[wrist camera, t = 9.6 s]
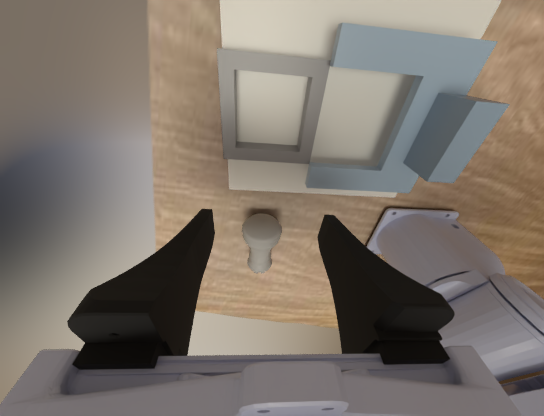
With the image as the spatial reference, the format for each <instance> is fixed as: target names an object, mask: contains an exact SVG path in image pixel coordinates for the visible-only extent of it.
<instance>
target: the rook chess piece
mask: <svg viewBox="0 0 544 416" xmlns="http://www.w3.org/2000/svg"><path fill="white" fill-rule="evenodd" d="M242 232H243V238H244V240H245V242H246V244H248V246H249V247H250V249H251V251H250V253H249V258H248V262H247V263H248V266H249V268H250V269H251V270H252V271H254V273H257V274H258V272H261V274H262V273H265V271H267V270H268V269H269V268H270V267H271V265H272V259H271V252H270V251H271V248H273V247H274V246H275V245H276V244H277V243H278V241H279V239H280V235H281V233H282V228H281V225H280V223H279V222H278V220H277V219H275V218H274V217H273V216H271V215H268V214H260V213H259V214H255V215H252V216H251V217H249V218H248V219H246V221H245V222H244V223H243V225H242Z"/></svg>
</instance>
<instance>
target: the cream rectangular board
mask: <svg viewBox="0 0 544 416" xmlns="http://www.w3.org/2000/svg"><path fill="white" fill-rule="evenodd" d="M500 2H501V0H220V13H221V34H222V49H219V48H217V59H218V75H219V92H220V108H221V124H222V140H223V156H224V159H228V176H229V189H231V190H251V191H271V192H291V193H311V194H331V195H351V196H371V197H391V198H395V196H396V195H397V193H396V192H376V191H357V190H338V189H319V188H307V187H306V184H305V181H306V176H307V172H308V167H309V162H313V163H329V164H345V165H361V166H376V167H377V165H378V163H379V161H380V158H381V156H382V154H383V151H384V149H385V147H386V144H387V142H388V140H389V137H390V135H391V133H392V130H393V128H394V126H395V123H396V121H397V119H398V116H399V114H400V112H401V109H402V107H403V105H404V102H405V100H406V98H407V95H408V93H409V91H410V88H411V86H412V84H413V81H414V79H415V77H416V75H407V74H398V73H388V72H379V71H369V70H359V69H350V68H340V67H332V66H330V62H331V57H332V52H333V48H334V43H335V38H336V33H337V28H338V24H340V23H350V24H358V25H367V26H375V27H383V28H391V29H399V30H407V31H415V32H424V33H432V34H440V35H448V36H456V37H464V38H472V39H481V37H482V36H483V34H484V32H485V30H486V28H487V26H488V24H489V23H490V21H491V19H492V17H493V15H494V13H495V12H496V10H497V8H498V6H499V4H500Z"/></svg>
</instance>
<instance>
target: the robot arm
mask: <svg viewBox="0 0 544 416" xmlns="http://www.w3.org/2000/svg"><path fill="white" fill-rule="evenodd" d="M393 212H394V213H393ZM458 216H459V213H458V212H457V211H442V210H419V209H397V208H389V209H387V210H386V211H385V212H384V214H383V216H382V218H381V220H380V222H379V224H378V226H377V227H376V229H375V231H374V233H373V235H372V237H371V239H370V241H369V242H368V244H367V246H365V245H364V244H362V243H361V242H360V241H359V240H358V239H357V238H356V237H355V236H354V235H353V234H352V233H351V232H350V231H349V230H348V229H347V228H346V227H345V226H344V225H343V224H342V223H341V222H340V221H339V220H338V219H337V218H336V217H335V216H334V215H324V218H323V222H322V225H321V228H320V231H319V234H318V243H319V249H320V253H321V256H322V259H323V262H324V266H325V269H326V272H327V275H328V278H329V281H330V285H331V289H332V294H333V298H334V303H335V309H336V314H337V320H338V327H339V333H340V340H341V348H342V354H302V355H219V356H217V355H215V356H187V354H188V347H189V342H190V336H191V330H192V325H193V319H194V313H195V309H196V304H197V299H198V294H199V289H200V285H201V281H202V278H203V274H204V271H205V268H206V265H207V262H208V259H209V256H210V253H211V249H212V245H213V240H214V234H215V231H214V222H213V213H212V209H201V210H200V211H199V213H198V214H197V215H196V216H195V217H194V218H193V219H192V220H191V221H190V222H189V223H188V224H187V225H186V226H185V227H184V228H183V229H182V230H181V231H180V232H179V233H178V234H177V235H176V236H175V237H174V238H173V239H172V240H171V241H169V242H168V243H167V244H166V245H165V246H163V247H162V248H161V249H160V250H158V251H157V252H156V253H154V254H153V255H151V256H150V257H148V258H147V259H145V260H144V261H142V262H141V263H139V264H138V265H136V266H134V267H133V268H131V269H129V270H128V271H126V272H124V273H122V274H121V275H119V276H117V277H115V278H113V279H111V280H109V281H107V282H105V283H103V284H101V285H99V286H97V287H95V288H93V289H91V290H90V291H89V293H88V294H87V295H86V296H85V297H84V299H83V300H82V301H81V303H80V304H79V306H78V307H77V308H76V310H75V311H74V313H73V314H72V315H71V317H70V318H69V320H68V321H67V322H68V327H69V328H70V329H71V331H72V332H74V333H75V334H76V335H77V336H78V337H79V338H81V339H82V340H83V341H84V342H85V344H84V346H83V348H82V349H81V351H78V350H73V349H72V350H71V349H48V350H47V349H44V350H41V351H40V352H39V353H38V354H37V356H36V357H35V358H34V360H33V361H32V362H31V364H30V365H29V366H28V368H27V369H26V370H25V372H24V373H23V374H22V376H21V377H20V378H19V380H18V381H17V383H16V384H15V385H14V386H13V388H12V389H11V390H10V392H9V393H8V394H7V396H6V397H5V399H4V400H3V401H2V403H1V404H0V416H544V374H543V375H538V376H534V377H530V378H526V379H522V380H518V381H514V382H510V383H506V384H499V382H498V381H501V380H506V379H510V378H514V377H518V376H522V375H525V374H530V373H534V372H537V371H541V370H544V299H542V298H541V297H540V296H539V295H537V294H536V293H535V292H534V291H532V290H531V289H530V288H528V287H527V286H526V285H524V284H523V283H522V282H520V281H519V280H517V279H516V278H514V277H512V276H508V275H505V270H504V267H503V265H502V263H501V261H500V259H499V258H498V257H497V255H496V254H495V253H494V252H493V251H491V250H490V249H489V248H488V247H487V246H486V245H484V244H483V243H482V242H481V241H480V240H479V239H477V238H476V237H475V236H474V235H473V234H472V233H470V232H469V231H468V230H467V229H466V228H465V227H463V226H462V225H461V224H460V223H459V222H458V221H456V218H457V217H458ZM376 254H382V255H383V256H384V258H385V260H386V261H387V263H386V262H385V261H384V260H382V259H381V258H380V257H378V256H377V255H376Z"/></svg>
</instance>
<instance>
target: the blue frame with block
mask: <svg viewBox="0 0 544 416" xmlns="http://www.w3.org/2000/svg"><path fill="white" fill-rule="evenodd" d="M496 44H497V41H489V40H481V39H472V38H464V37H456V36H448V35H440V34H432V33H424V32H415V31H407V30H399V29H391V28H383V27H375V26H367V25H358V24H350V23H340V24H338V28H337V33H336V38H335V43H334V48H333V52H332V57H331V62H330V66H332V67H340V68H350V69H359V70H369V71H379V72H388V73H398V74H407V75H416V77H415V79H414V81H413V84H412V86H411V88H410V91H409V93H408V95H407V98H406V100H405V102H404V105H403V107H402V109H401V112H400V114H399V116H398V119H397V121H396V123H395V126H394V128H393V130H392V133H391V135H390V137H389V140H388V142H387V144H386V147H385V149H384V151H383V154H382V156H381V158H380V161H379V163H378V165H377V167H376V166H361V165H345V164H329V163H313V162H309V167H308V172H307V176H306V181H305V184H306V187H307V188H319V189H338V190H357V191H376V192H396V193H410V191H411V189H412V188H413V186H414V184H415V182H416V181H417V179H418V177H419V176H420V177H422V178H423V179H424V180H426V181H427V182H444V183H454V182H455V180H456V179H457V178H458V176H459V175H460V173H461V172H462V171H463V169H464V168H465V166H466V165H467V164H468V162H469V161H470V159H471V158H472V157H473V155H474V154H475V152H476V151H477V150H478V148H479V147H480V145H481V144H482V143H483V141H484V140H485V138H486V137H487V136H488V134H489V133H490V131H491V130H492V129H493V127H494V126H495V124H496V123H497V122H498V120H499V119H500V117H501V116H502V115H503V113H504V112H505V110H506V109H507V108H508V106H509V105H510V104H506V103H501V102H496V101H491V100H486V99H481V98H476V97H472V96H467V93H468V92H469V90H470V88H471V86H472V85H473V83H474V81H475V80H476V78H477V76H478V74H479V73H480V71H481V69H482V68H483V66H484V64H485V62H486V61H487V59H488V57H489V56H490V54H491V52H492V50H493V49H494V47H495V45H496Z"/></svg>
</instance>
